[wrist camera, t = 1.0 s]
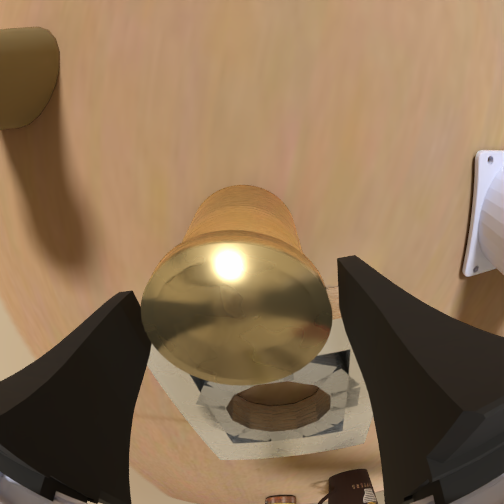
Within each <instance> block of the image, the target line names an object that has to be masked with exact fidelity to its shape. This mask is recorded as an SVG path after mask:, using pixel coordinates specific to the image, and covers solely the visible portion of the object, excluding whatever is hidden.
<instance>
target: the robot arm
mask: <svg viewBox="0 0 504 504" xmlns="http://www.w3.org/2000/svg"><path fill="white" fill-rule="evenodd" d="M488 157H489V161H488ZM337 264H338V290H339V309H340V313H341V317H342V321H343V324H344V328H345V332H346V334H347V337H348V340H349V342H350V345H351V347H352V350H353V352H354V355H355V358H356V360H357V363H358V365H359V368H360V371H361V373H362V376H363V379H364V382H365V384H366V388H367V391H368V394H369V398H370V403H371V407H372V412H373V416H374V421H375V426H376V432H377V437H378V443H379V450H380V457H381V464H382V473H383V483H384V496H385V504H504V337H501V336H498V335H495V334H491V333H488V332H486V331H483V330H480V329H478V328H475V327H473V326H470V325H468V324H466V323H463V322H461V321H458V320H456V319H454V318H452V317H450V316H448V315H446V314H444V313H442V312H440V311H438V310H436V309H434V308H433V307H431V306H429V305H427V304H425V303H424V302H422V301H420V300H419V299H417V298H415V297H414V296H412V295H411V294H409V293H407V292H406V291H404V290H403V289H401V288H400V287H398V286H397V285H395V284H394V283H392V282H391V281H390V280H388V279H387V278H385V277H384V276H383V275H381V274H380V273H379V272H377V271H376V270H375V269H373V268H372V267H370V266H369V265H368V264H366V263H365V262H364V261H362V260H361V259H360V258H358V257H357V256H355V255H354V256H348V257H342V258H337ZM493 269H498V270H499V271H500V272H501V273H502V274H503V275H504V150H480V151H478V152H477V154H476V157H475V178H474V194H473V205H472V214H471V222H470V230H469V236H468V243H467V249H466V254H465V259H464V264H463V269H462V272H463V274H464V275H465V276H466V277H470V276H473V275H477V274H480V273H483V272H487V271H490V270H493ZM151 345H152V343H151V341H150V340H149V338H148V336H147V334H146V332H145V329H144V326H143V323H142V317H141V307H140V305H139V303H138V301H137V299H136V297H135V295H134V293H133V291H126V292H119V293H118V294H116V295H115V296H113V297H112V298H111V299H109V300H108V301H107V302H106V303H104V304H103V305H102V306H101V307H100V308H99V309H97V310H96V311H95V312H94V313H93V314H92V315H91V316H90V317H88V318H87V319H86V320H85V321H84V322H83V323H82V324H81V325H79V326H78V327H77V328H76V329H75V330H74V331H73V332H71V333H70V334H69V335H68V336H67V337H66V338H64V339H63V340H62V341H61V342H60V343H59V344H57V345H56V346H55V347H54V348H52V349H51V350H50V351H48V352H47V353H46V354H44V355H43V356H42V357H40V358H39V359H37V360H36V361H34V362H33V363H31V364H30V365H28V366H27V367H25V368H24V369H22V370H20V371H19V372H17V373H15V374H14V375H12V376H10V377H8V378H7V379H4V380H2V381H0V504H87V501H90V502H93V503H96V504H97V503H98V502H100V503H103V504H131V497H130V486H129V448H130V435H131V427H132V419H133V413H134V408H135V404H136V400H137V397H138V393H139V390H140V386H141V383H142V380H143V376H144V373H145V370H146V366H147V363H148V359H149V356H150V351H151Z"/></svg>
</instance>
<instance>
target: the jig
mask: <svg viewBox="0 0 504 504" xmlns="http://www.w3.org/2000/svg"><path fill="white" fill-rule="evenodd" d="M326 291H327V294H328V297H329V300H330V303H331V307H332V316H333V317H332V327H331V331H330V335H329V337H328V340H327V342H326V344H325V345H324V347H323V349H322V350H321V351H320V353H319V354H318V355H317V356H316V357H315V358H314V359H313V360H312V361H311V362H310V363H309V364H307V365H306V366H305V367H303V368H302V369H300V370H299V371H297V372H295V373H293V374H291V375H289V376H287V377H285V378H282V379H279V380H276V381H272V382H268V383H264V384H270V383H278V382H286V381H290V382H296V383H303V384H309V385H316V386H317V387H319V388H320V389H319V390H318V391H317V392H316V393H315V394H314V395H313V396H310V397H308V398H306V399H304V400H302V401H299V402H297V403H295V404H287V405H279V406H267V405H260V404H255V403H250V402H248V401H246V400H245V399H243V398H241V397H239V396H238V395H236V394H237V393H240V392H242V391H244V390H246V389H249V388H251V387H253V386H255V385H244V386H242V385H226V384H219V383H214V382H210V381H207V380H203V379H200V378H198V377H195V376H192V375H190V374H188V373H186V372H184V371H182V370H181V369H179V368H177V367H176V366H174V365H173V364H172V363H170V362H169V361H168V360H166V359H165V358H164V357H163V356H162V355H161V354H160V353H159V352H158V351H157V349H156V348H155V347H154V346H153V344H152V345H151V351H150V356H149V359H148V363H147V366H148V367H149V369H150V370H151V372H152V373H153V375H154V376H155V378H156V379H157V381H158V382H159V384H160V385H161V386H162V388H163V389H164V391H165V392H166V393H167V395H168V396H169V398H170V399H171V400H172V402H173V403H174V404H175V406H176V407H177V408H178V410H179V411H180V412H181V413H182V415H183V416H184V417H185V419H186V420H187V421H188V422H189V424H190V425H191V426H192V427H193V429H194V430H195V431H196V432H197V433H198V435H199V436H200V437H201V438H202V439H203V441H204V442H205V443H206V444H207V445H208V446H209V448H210V449H211V450H212V451H213V452H214V453H215V454H216V455H217V457H218V458H219V459H220V460H247V459H265V458H278V457H288V456H296V455H304V454H311V453H318V452H324V451H330V450H335V449H340V448H345V447H350V446H355V445H359V444H363V443H364V442H365V439H366V436H367V433H368V430H369V427H370V423H371V420H372V417H373V412H372V407H371V403H370V398H369V394H368V391H367V388H366V384H365V382H364V379H363V376H362V373H361V371H360V368H359V365H358V363H357V360H356V358H355V355H354V352H353V350H352V347H351V345H350V342H349V340H348V337H347V334H346V332H345V328H344V324H343V321H342V317H341V313H340V309H339V290H338V287H335V288H329V289H326ZM257 385H261V384H257Z"/></svg>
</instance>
